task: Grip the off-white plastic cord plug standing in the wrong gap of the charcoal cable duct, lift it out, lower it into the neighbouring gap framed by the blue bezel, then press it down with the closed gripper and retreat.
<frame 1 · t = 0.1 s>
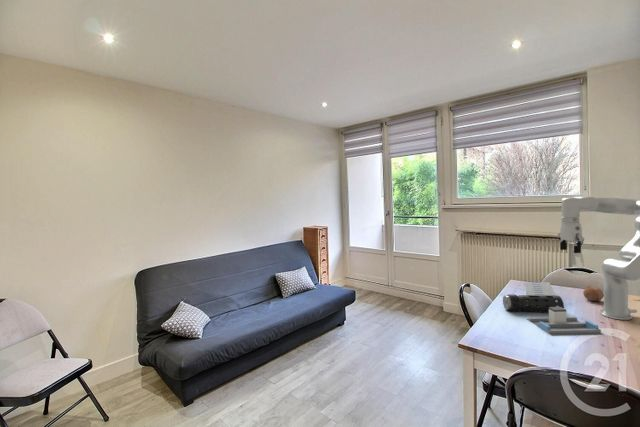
hand: (570, 251, 165), 37 cm above the table, tool pointing down, fingers open, 9 cm apart
onion: (593, 301, 189), on the table
cord plug: (557, 323, 158), point 1 cm above the table, touching cable duct
warehouse: (538, 298, 198), on the table
cable duct: (562, 328, 154), on the table
muzzle brake: (532, 313, 175), on the table
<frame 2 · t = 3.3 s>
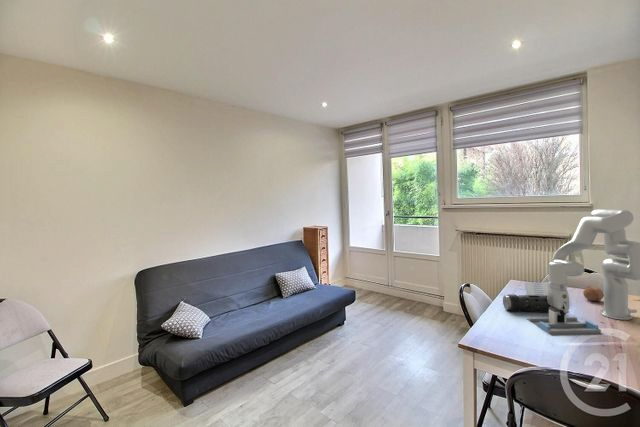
hand: (557, 319, 158), 3 cm above the table, tool pointing down, fingers closed on cord plug, 4 cm apart
cord plug: (557, 323, 158), point 1 cm above the table, touching cable duct, gripper
everything else where it was.
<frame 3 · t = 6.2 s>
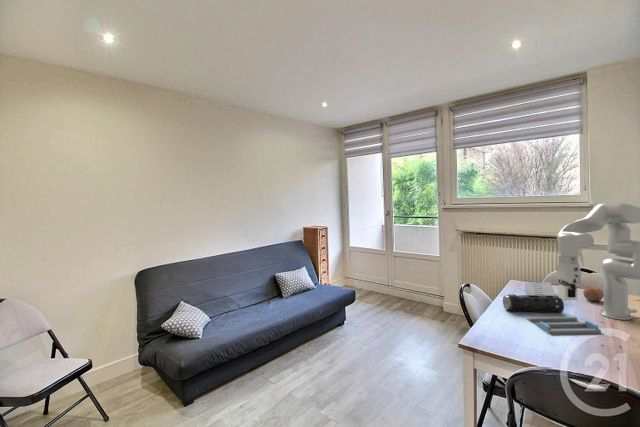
hand: (567, 295, 150), 18 cm above the table, tool pointing down, fingers closed on cord plug, 4 cm apart
cord plug: (567, 298, 150), point 17 cm above the table, touching gripper
everything else where it was.
when the fingers open (4 cm above the table, at t = 9.0 s): cord plug drops 1 cm, resting on cable duct.
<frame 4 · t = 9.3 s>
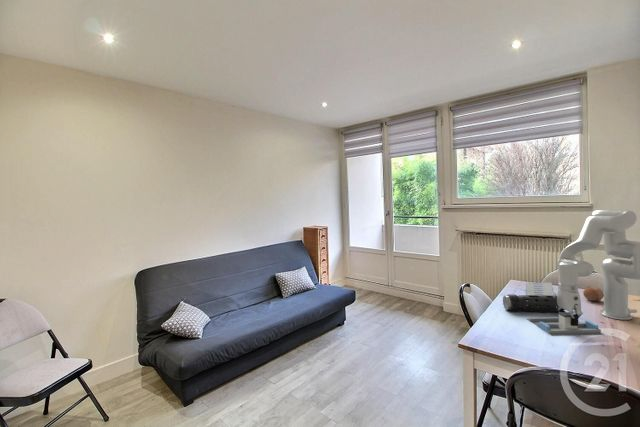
hand: (568, 321, 151), 5 cm above the table, tool pointing down, fingers open, 7 cm apart
cord plug: (567, 329, 151), point 1 cm above the table, touching cable duct
everything else where it was.
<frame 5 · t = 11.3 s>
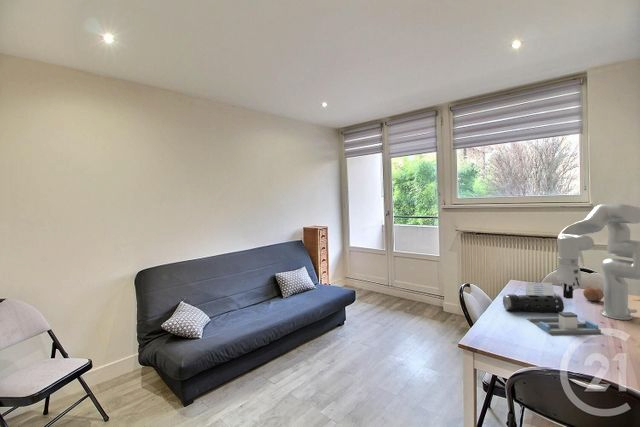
hand: (568, 297, 150), 17 cm above the table, tool pointing down, fingers closed
nothing on the table moved.
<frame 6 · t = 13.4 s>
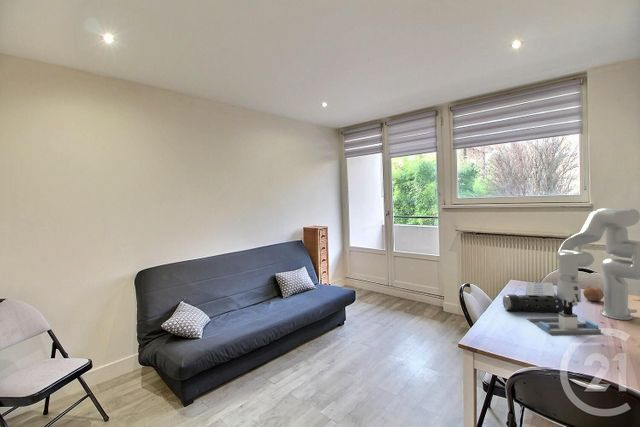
hand: (567, 313, 150), 9 cm above the table, tool pointing down, fingers closed
cord plug: (567, 329, 151), point 1 cm above the table, touching cable duct, gripper
everything else where it was.
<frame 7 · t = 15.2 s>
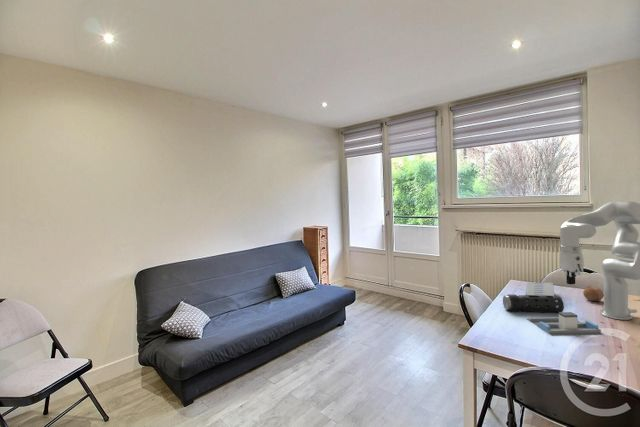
hand: (571, 283, 156), 22 cm above the table, tool pointing down, fingers closed
cord plug: (567, 329, 151), point 1 cm above the table, touching cable duct
everything else where it was.
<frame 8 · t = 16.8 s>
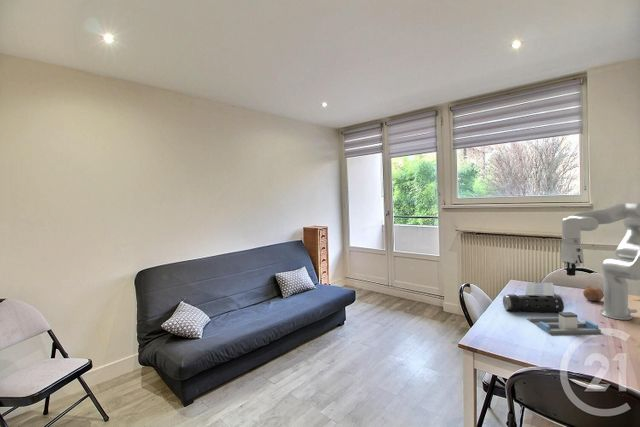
hand: (571, 275, 160), 25 cm above the table, tool pointing down, fingers closed
nothing on the table moved.
at the end: cord plug inside the target area on the cable duct (0.1 cm from its centre), point 1.0 cm above the cable duct's base; cord plug tilted 0°; the gripper is holding nothing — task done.
